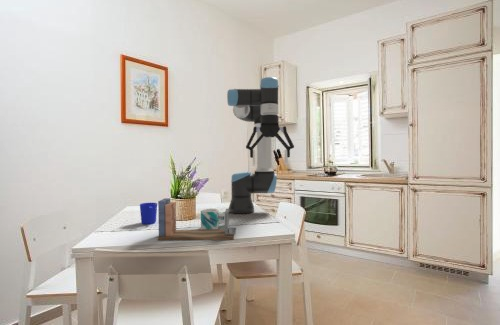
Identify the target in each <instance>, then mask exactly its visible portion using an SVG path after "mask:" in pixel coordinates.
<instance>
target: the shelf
mask: <svg viewBox="0 0 500 325" xmlns="http://www.w3.org/2000/svg"><path fill="white" fill-rule="evenodd" d="M157 212H158V213H157V214H158V237H157V241H200V240H201V241H210V240H211V241H215V240H216V241H217V240H221V241H222V240H225V241H226V240H228V241H229V240H235V239H234V238H235V235H225V228H224V229H223V228H221V229H220V228H218V229H207V230H202V229H177V202H176V201H171V197H170V198H168V197H166V198H162V199H160V200H158V203H157Z"/></svg>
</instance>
